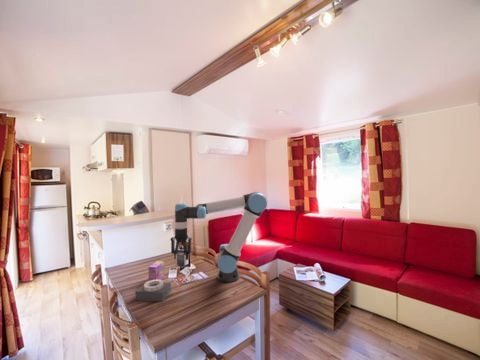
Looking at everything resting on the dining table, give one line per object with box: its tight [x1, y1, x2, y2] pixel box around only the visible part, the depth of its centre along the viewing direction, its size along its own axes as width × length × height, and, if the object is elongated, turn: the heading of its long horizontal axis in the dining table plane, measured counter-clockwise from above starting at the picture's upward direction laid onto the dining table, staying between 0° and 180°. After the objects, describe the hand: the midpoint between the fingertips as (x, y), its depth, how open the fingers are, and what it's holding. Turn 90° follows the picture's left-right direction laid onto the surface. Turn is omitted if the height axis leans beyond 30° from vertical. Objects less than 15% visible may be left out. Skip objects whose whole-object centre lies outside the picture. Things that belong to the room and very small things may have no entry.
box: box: [148, 260, 165, 281], centre depth 154 cm, size 10×6×12 cm, turn 168°
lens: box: [176, 248, 185, 267], centre depth 144 cm, size 5×5×9 cm
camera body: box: [135, 279, 172, 302], centre depth 135 cm, size 16×12×7 cm
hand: (181, 264), depth 144 cm, fingers closed on lens, 5 cm apart
